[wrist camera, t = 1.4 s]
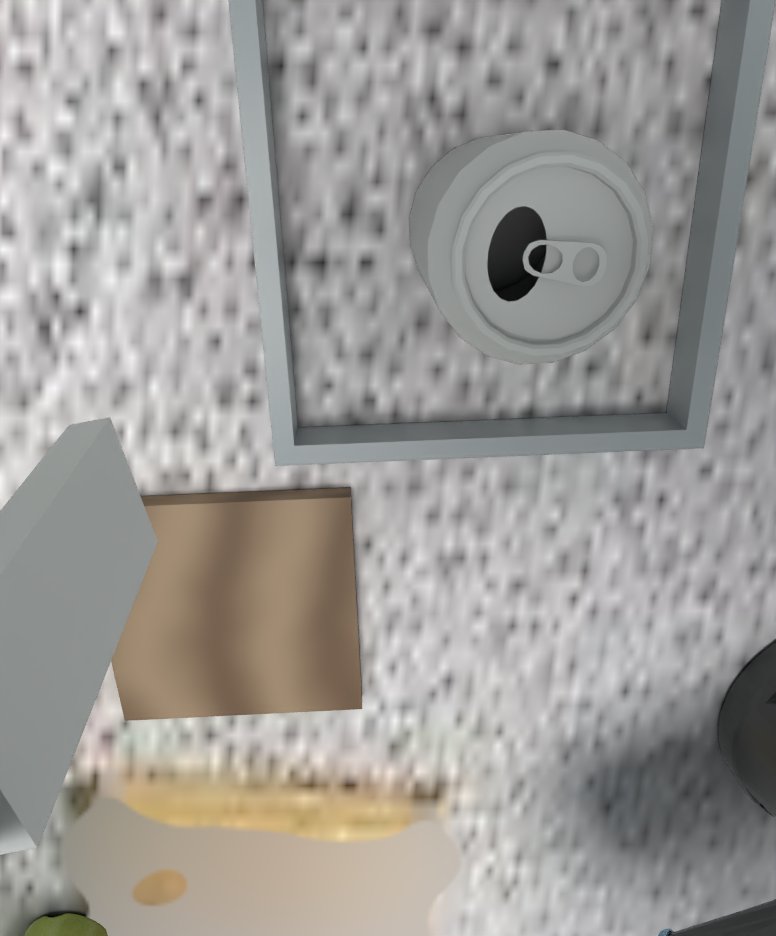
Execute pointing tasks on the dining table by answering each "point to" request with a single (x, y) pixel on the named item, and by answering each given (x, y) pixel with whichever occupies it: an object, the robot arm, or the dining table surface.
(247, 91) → the gray square frame
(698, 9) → the dining table surface
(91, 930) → the plant pot
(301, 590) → the pad
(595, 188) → the can
